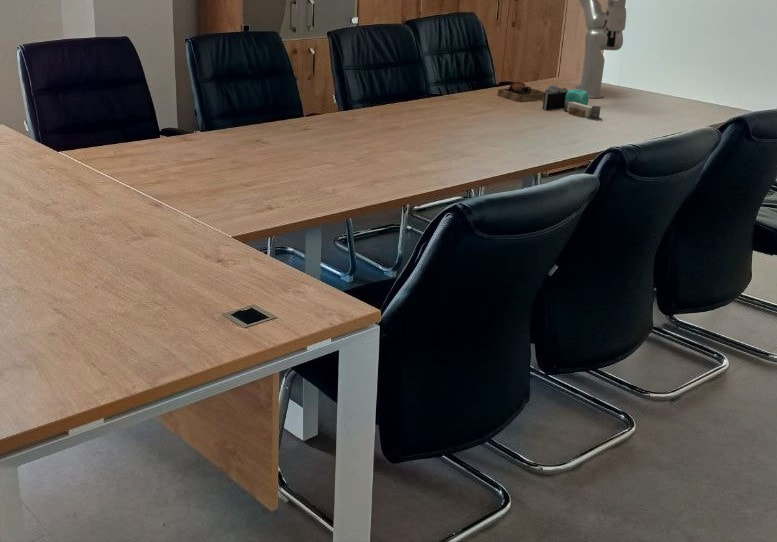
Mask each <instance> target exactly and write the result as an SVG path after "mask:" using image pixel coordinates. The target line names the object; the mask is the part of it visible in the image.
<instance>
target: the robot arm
mask: <svg viewBox="0 0 777 542" xmlns="http://www.w3.org/2000/svg"><path fill="white" fill-rule="evenodd" d="M626 1H627V0H608V1H607V3H606V4H607V6H606V9H605V11H603V7H602V4H601V3H600V2H599V0H579V2H580V5H581V7H582V10H583V12H584V19H585V26H586V28H587V31H586V33H585V37H584V59H583V66H582V75H581V81H580V84H577V85H576V86H575V90H583V91H586V92H587V93H588V96H589V99H602V98H603V96H604V94H603V93H601V91H602V90H601V89H602V81H603V75H604V68H605V61H606V59H605V56H604V55H603V54H602V52H601V51H619V50H620V49H621V48H623V44H624V35H623V34H624V33H623V31H625V29H626V22H627V8H626Z"/></svg>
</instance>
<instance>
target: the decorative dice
mask: <svg viewBox="0 0 777 542" xmlns="http://www.w3.org/2000/svg"><path fill="white" fill-rule="evenodd" d="M567 91H568V92H567V94H566V97H565V101H566V100H569V101H573V102H577V103H580V104H584V105H587V106H589V105H588V104H589V99H590V98H589V96H588V93H587V92H586V91H583V90H579V89H576V88H575V89H574V88H573V89H569V90H567Z"/></svg>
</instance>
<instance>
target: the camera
mask: <svg viewBox="0 0 777 542" xmlns="http://www.w3.org/2000/svg"><path fill="white" fill-rule="evenodd" d="M568 91H569V90H568V88H566V87H559V86H557V85H555V84H553V85H550V86H548V87H547V88H546V89H545V90H544V92H545V94H544V97H543V100H542V103H543V104H542V110H543V109H544V111H548V110H549V111H554V110H553V109H555V110H560V108H562V109H564V105H565V97H566V94H567V92H568Z"/></svg>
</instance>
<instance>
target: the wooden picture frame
mask: <svg viewBox="0 0 777 542" xmlns="http://www.w3.org/2000/svg"><path fill="white" fill-rule="evenodd" d="M508 88H509V87H508ZM508 88H498V89H497V96H498V97H501V98H504V99H505V98H506V99H509V100H511V101H515V102H518V103H525V102H527V103H528V101H529V102H539V101H538V100H542V101H543V97H544V94H545V91H543V90H538V89H536V88H532V87H530V88H531V93H530V94H529V95H519V94H516V93H514V92H512V91H510V90H509V91H508ZM527 92H528V91H527Z"/></svg>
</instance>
